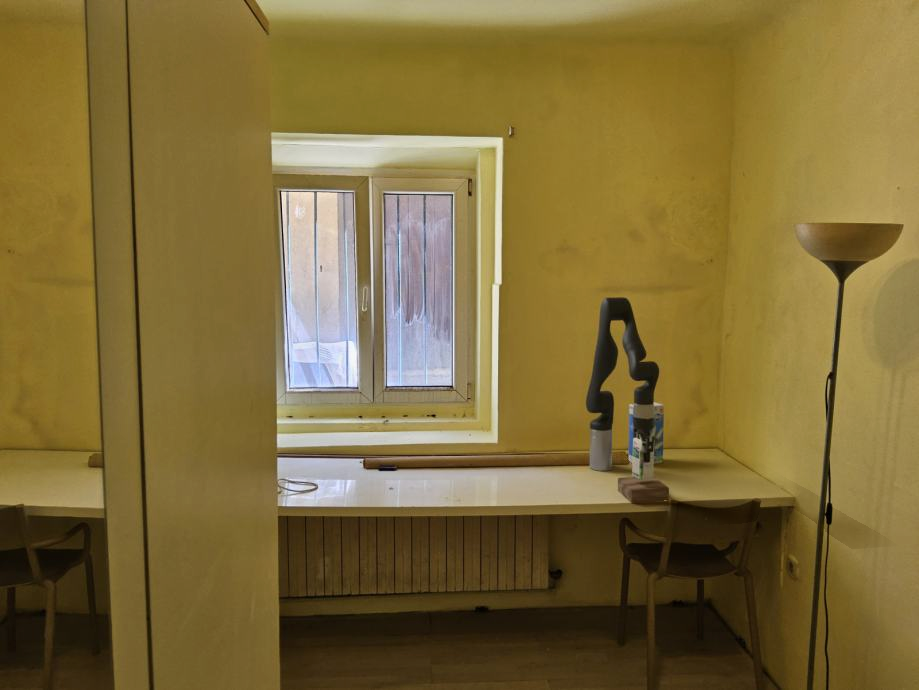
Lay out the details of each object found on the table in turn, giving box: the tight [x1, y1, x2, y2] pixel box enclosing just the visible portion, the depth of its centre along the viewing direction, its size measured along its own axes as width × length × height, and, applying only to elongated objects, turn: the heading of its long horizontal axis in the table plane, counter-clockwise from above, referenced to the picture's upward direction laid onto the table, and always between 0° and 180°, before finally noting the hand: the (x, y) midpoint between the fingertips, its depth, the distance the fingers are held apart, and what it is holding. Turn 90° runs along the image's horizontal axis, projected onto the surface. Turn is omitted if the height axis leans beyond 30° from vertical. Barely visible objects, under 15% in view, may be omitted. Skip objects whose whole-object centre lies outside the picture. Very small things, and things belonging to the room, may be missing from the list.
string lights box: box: [628, 401, 665, 465], centre depth 283 cm, size 13×8×26 cm, turn 109°
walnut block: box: [617, 475, 670, 504], centre depth 241 cm, size 14×14×5 cm
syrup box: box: [631, 438, 655, 480], centre depth 240 cm, size 6×6×14 cm
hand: (643, 459), depth 240 cm, fingers closed on syrup box, 6 cm apart
